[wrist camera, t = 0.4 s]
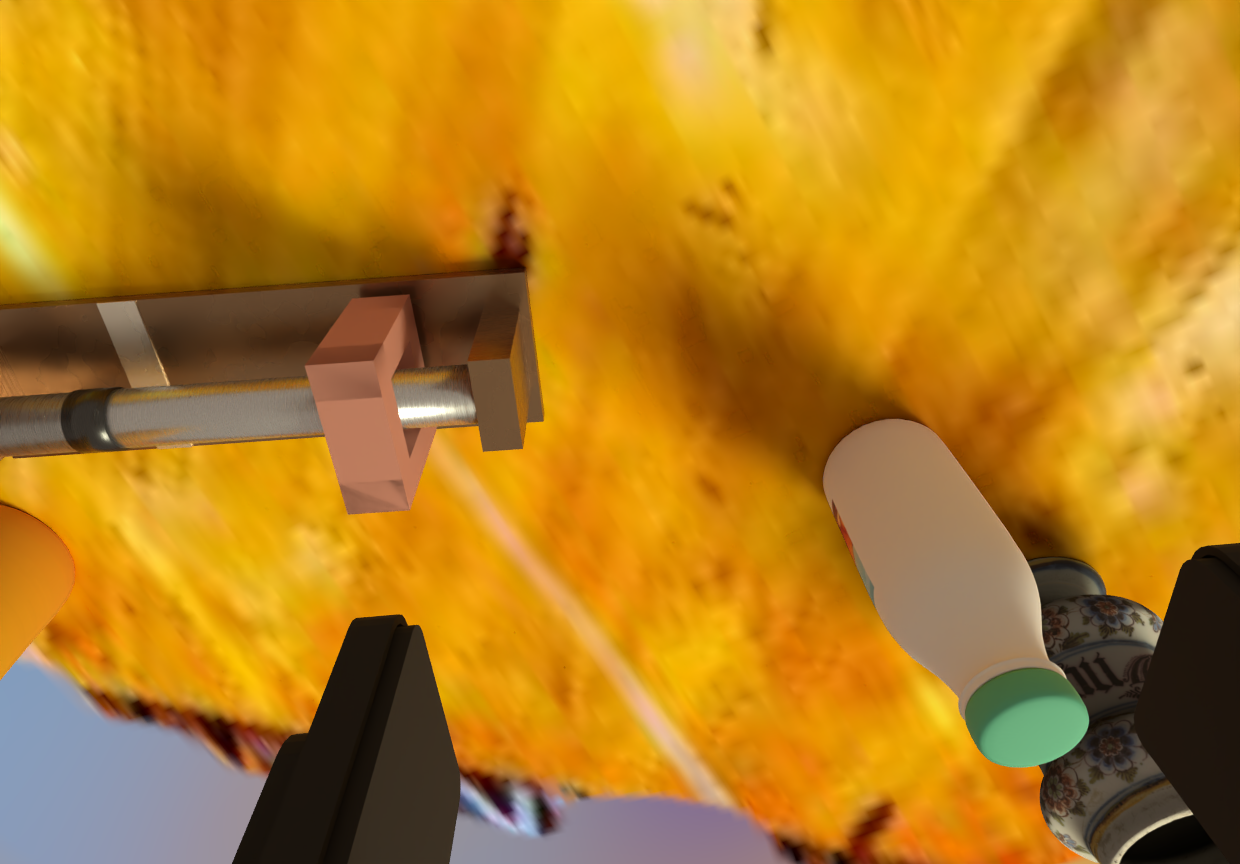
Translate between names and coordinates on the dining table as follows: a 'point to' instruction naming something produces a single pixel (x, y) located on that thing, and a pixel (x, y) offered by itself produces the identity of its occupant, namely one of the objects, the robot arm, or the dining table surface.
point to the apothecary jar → (1109, 729)
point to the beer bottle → (29, 581)
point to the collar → (370, 403)
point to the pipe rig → (255, 364)
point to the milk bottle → (953, 588)
